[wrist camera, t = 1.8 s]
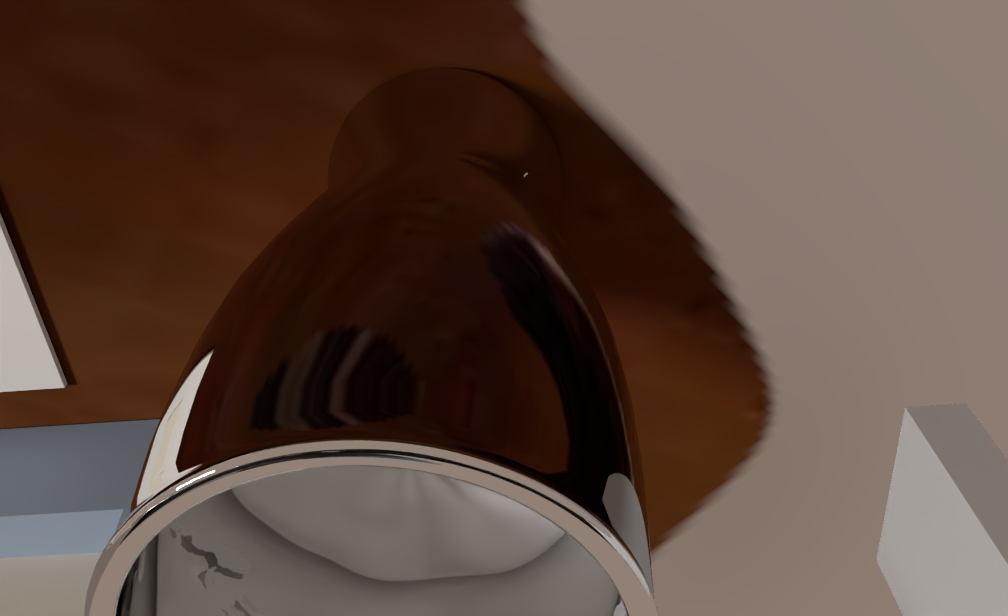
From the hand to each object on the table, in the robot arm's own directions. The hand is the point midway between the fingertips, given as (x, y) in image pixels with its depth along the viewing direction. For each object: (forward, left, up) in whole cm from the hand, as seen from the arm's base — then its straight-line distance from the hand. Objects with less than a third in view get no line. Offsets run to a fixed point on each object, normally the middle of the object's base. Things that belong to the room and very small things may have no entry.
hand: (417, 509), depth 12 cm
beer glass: (0, 0, -13) cm, 13 cm away
